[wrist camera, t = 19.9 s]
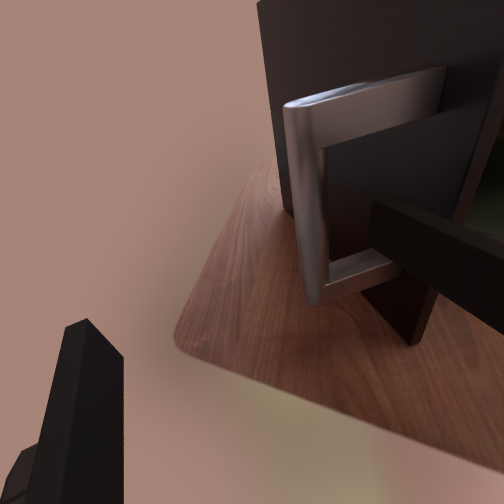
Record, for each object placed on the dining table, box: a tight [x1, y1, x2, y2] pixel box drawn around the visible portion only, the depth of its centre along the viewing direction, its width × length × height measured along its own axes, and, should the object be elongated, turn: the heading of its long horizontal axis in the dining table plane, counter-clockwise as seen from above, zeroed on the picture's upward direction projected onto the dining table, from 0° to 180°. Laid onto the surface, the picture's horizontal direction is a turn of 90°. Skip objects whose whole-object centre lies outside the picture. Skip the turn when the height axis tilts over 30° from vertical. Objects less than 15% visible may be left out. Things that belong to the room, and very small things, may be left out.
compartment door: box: [257, 0, 504, 346], centre depth 22 cm, size 8×26×23 cm, turn 17°
